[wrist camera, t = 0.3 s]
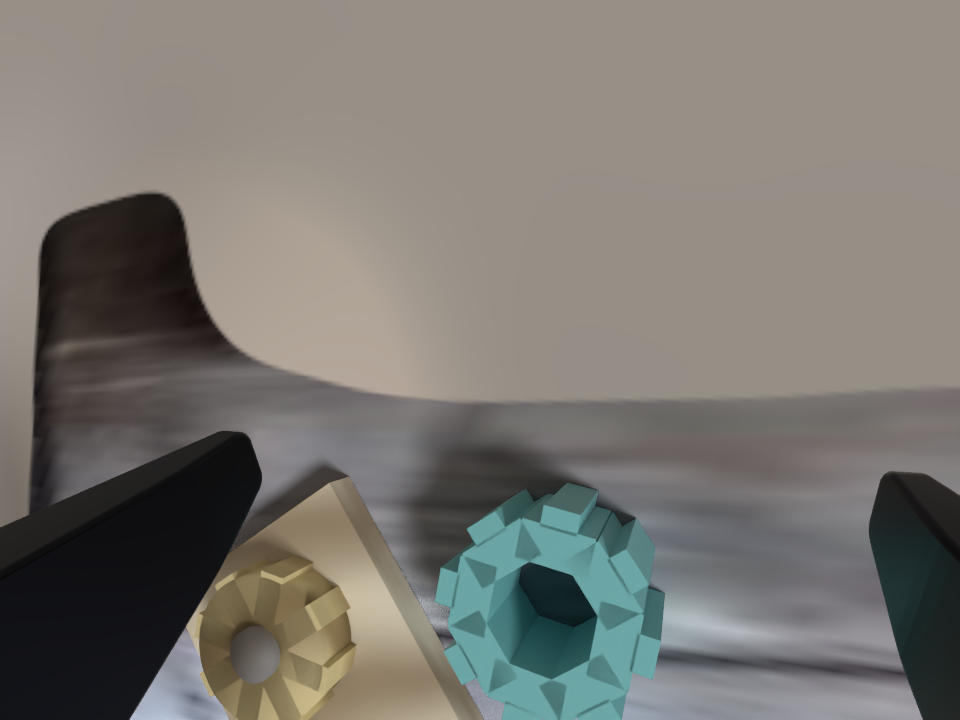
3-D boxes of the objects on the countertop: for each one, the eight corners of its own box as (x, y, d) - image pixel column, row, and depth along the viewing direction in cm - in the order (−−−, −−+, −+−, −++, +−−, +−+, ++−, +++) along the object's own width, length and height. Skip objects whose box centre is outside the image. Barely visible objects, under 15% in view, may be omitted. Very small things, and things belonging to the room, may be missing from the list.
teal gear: (704, 623, 21) (709, 678, 17) (539, 706, 23) (510, 773, 19) (590, 448, 22) (571, 463, 18) (443, 539, 24) (398, 571, 20)
